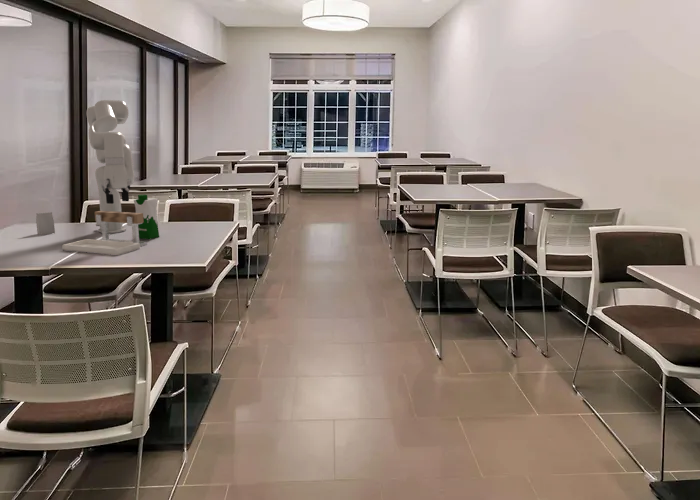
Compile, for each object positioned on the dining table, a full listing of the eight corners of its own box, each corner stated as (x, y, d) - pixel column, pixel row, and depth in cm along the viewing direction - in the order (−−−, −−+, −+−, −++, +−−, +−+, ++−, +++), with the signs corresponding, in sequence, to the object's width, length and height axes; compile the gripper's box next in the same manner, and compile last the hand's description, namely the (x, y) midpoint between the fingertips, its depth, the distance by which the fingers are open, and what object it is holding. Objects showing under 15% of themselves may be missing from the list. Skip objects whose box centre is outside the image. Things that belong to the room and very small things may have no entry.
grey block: (55, 233, 289) (53, 212, 287) (39, 235, 284) (37, 214, 282) (52, 232, 291) (50, 211, 289) (37, 233, 287) (35, 213, 285)
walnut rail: (95, 221, 262) (94, 211, 261) (101, 219, 266) (100, 210, 265) (137, 223, 255) (137, 214, 255) (143, 222, 259) (143, 213, 258)
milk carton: (134, 238, 276) (131, 195, 272) (146, 235, 284) (144, 193, 280) (150, 239, 273) (147, 196, 269) (162, 236, 281) (159, 193, 277)
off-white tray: (63, 250, 249) (62, 244, 249) (86, 244, 262) (86, 239, 262) (118, 255, 241) (117, 249, 240) (140, 248, 254) (139, 243, 253)
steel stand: (94, 244, 263) (92, 214, 260) (105, 241, 269) (103, 212, 267) (137, 247, 256) (134, 217, 253) (147, 244, 263) (145, 214, 260)
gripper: (121, 161, 265) (124, 200, 268) (93, 162, 248) (96, 204, 252) (135, 161, 262) (138, 200, 265) (108, 163, 246) (111, 204, 249)
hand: (118, 202), depth 258 cm, fingers open, 9 cm apart
